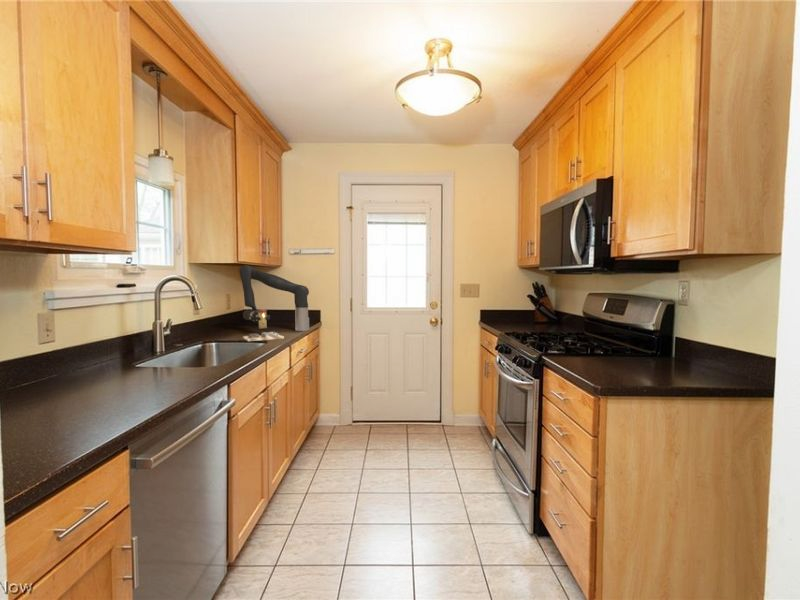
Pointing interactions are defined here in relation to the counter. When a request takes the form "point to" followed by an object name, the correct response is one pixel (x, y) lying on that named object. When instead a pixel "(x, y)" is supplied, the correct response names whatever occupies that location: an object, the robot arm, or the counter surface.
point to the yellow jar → (262, 318)
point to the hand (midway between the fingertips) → (263, 318)
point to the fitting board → (263, 336)
